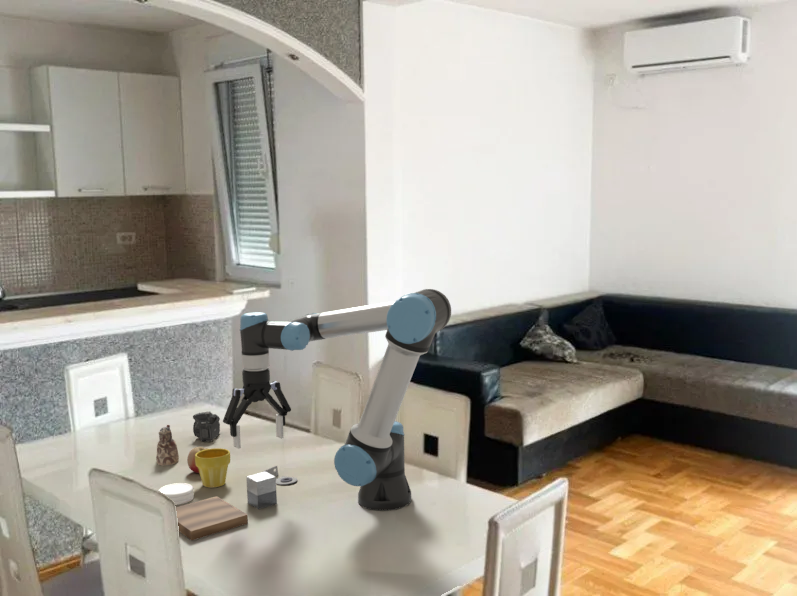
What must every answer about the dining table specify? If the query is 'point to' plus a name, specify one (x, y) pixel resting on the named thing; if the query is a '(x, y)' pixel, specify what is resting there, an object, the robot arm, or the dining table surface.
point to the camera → (206, 426)
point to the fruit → (192, 458)
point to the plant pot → (213, 466)
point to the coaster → (178, 492)
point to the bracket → (283, 479)
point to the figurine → (166, 448)
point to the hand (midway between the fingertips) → (258, 442)
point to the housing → (261, 490)
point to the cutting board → (208, 517)
